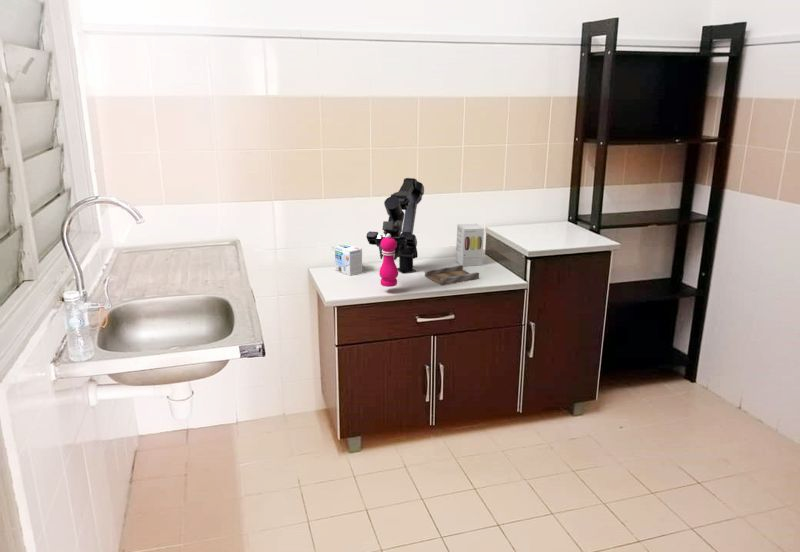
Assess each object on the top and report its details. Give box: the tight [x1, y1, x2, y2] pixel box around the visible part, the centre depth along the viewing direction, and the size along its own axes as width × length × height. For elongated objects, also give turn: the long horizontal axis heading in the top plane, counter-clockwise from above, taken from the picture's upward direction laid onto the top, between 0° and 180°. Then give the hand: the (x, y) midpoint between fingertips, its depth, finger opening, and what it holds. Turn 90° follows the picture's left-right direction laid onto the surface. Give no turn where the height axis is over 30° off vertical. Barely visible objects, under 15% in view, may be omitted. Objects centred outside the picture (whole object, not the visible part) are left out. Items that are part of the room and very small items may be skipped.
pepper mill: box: [379, 233, 399, 288], centre depth 234 cm, size 7×7×20 cm
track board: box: [424, 264, 480, 286], centre depth 255 cm, size 18×13×2 cm
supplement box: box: [455, 223, 485, 267], centre depth 273 cm, size 10×9×17 cm
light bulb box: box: [334, 243, 363, 277], centre depth 261 cm, size 11×7×11 cm, turn 42°
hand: (387, 259), depth 233 cm, fingers closed on pepper mill, 5 cm apart
